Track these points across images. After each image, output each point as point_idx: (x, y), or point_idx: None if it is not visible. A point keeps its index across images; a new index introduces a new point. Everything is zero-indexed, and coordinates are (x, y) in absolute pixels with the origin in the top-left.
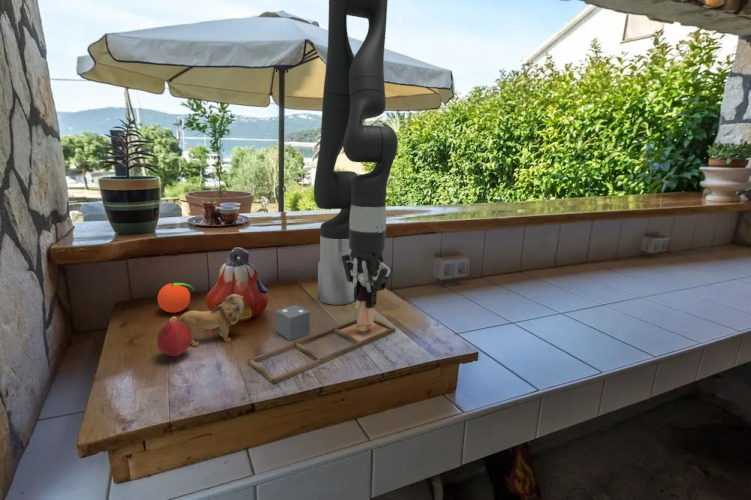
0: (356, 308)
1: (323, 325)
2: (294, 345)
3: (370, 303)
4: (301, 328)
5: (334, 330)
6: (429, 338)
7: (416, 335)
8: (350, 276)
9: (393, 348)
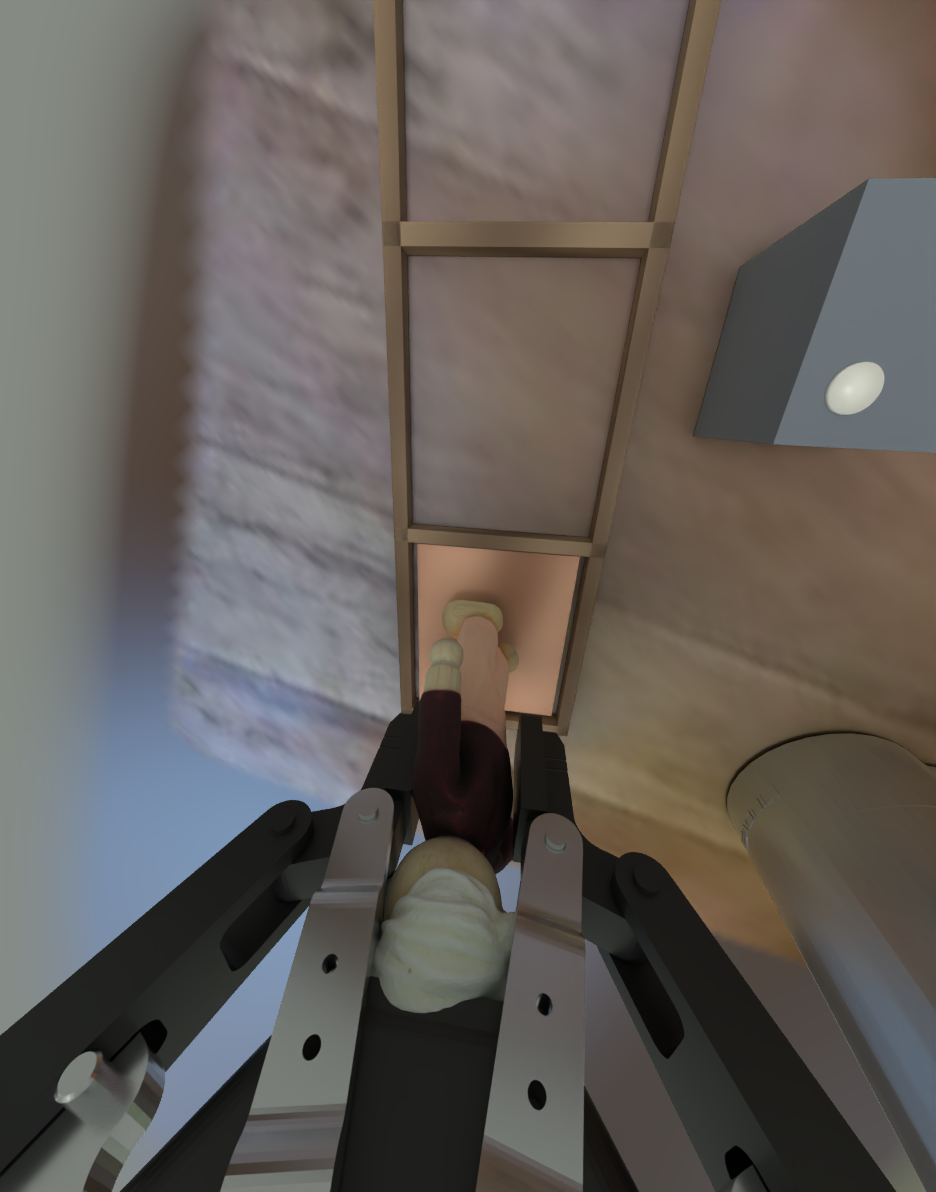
0: (436, 641)
1: (690, 558)
2: (652, 219)
3: (399, 729)
4: (737, 365)
5: (587, 541)
6: (297, 733)
7: (338, 725)
8: (637, 923)
9: (310, 605)
